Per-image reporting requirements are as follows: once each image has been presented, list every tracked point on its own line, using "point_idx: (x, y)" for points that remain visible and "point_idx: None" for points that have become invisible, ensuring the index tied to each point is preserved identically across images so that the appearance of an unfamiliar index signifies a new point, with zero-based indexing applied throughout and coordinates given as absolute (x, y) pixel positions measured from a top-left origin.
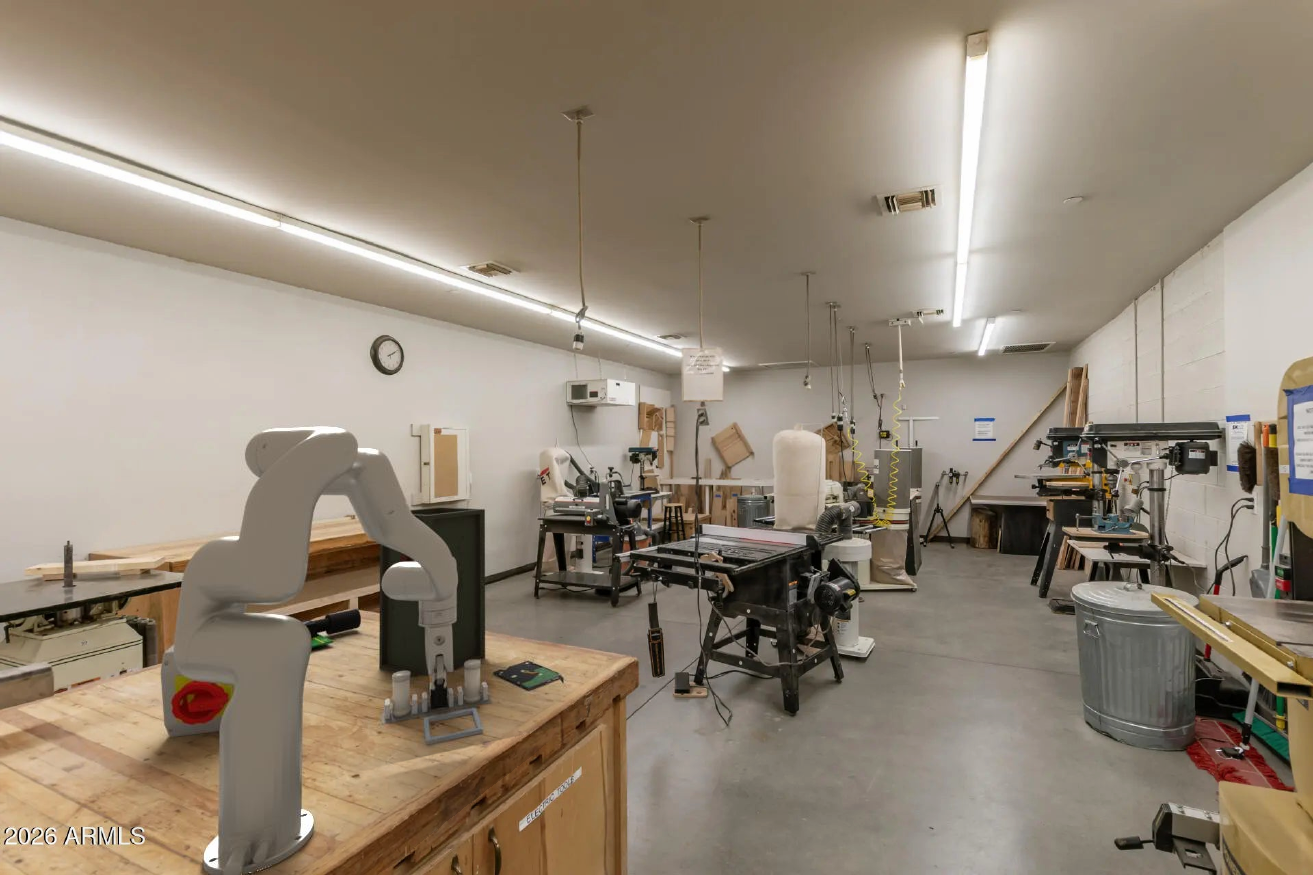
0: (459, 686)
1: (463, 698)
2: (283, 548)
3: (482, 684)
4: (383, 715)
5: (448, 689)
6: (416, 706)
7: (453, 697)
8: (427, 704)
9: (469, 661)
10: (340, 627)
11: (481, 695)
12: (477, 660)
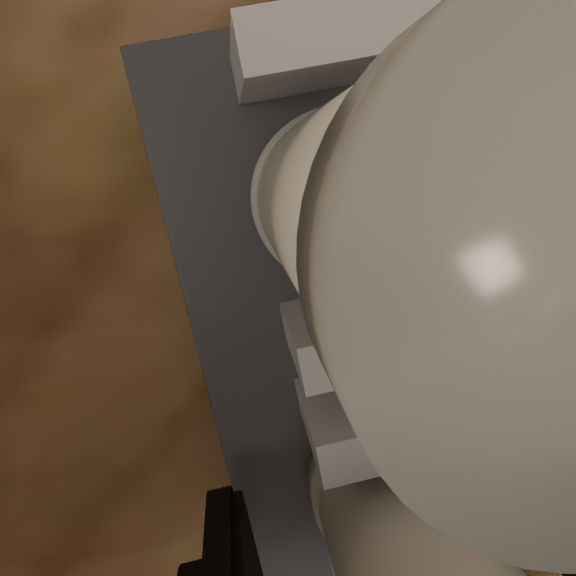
0: (308, 369)
1: (268, 285)
2: None
3: (326, 61)
4: None
5: (361, 476)
6: None
7: (218, 378)
8: (311, 550)
9: (508, 410)
10: None
11: (243, 105)
12: (537, 48)
